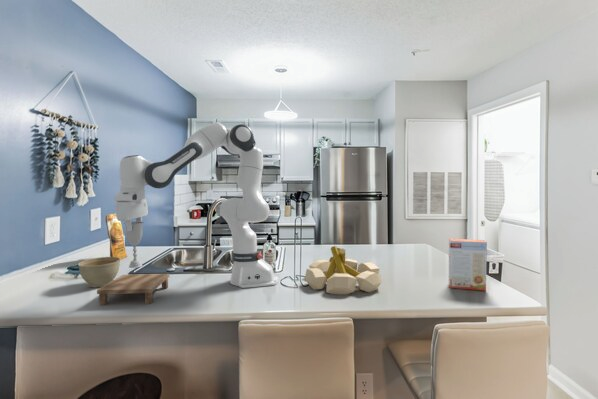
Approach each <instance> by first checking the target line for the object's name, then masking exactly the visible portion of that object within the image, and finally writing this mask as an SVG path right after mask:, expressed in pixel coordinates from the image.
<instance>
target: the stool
mask: <svg viewBox="0 0 598 399" xmlns="http://www.w3.org/2000/svg"><path fill="white" fill-rule="evenodd" d="M169 278H170V273H141V274H140V273H139V274H136V273H135V274H122V275H120V276H118V277H116V278H114V279H113V281H112V282H110V283H108V284H107V285H105V286H103V287H99V288H97V290H96V295H98V297H99V298H98V300H99V306H106V305H107V304H109V298H108V296H109V295H111V294H112V295H117V294H118V295H119V294H144V300H145V301H144V304H145V305H150V304H153V303H154V302H153V300H154V297H153V292H154V291H155V290H157V288H159V287H160V286H161V289H162V290H167V289H168V288H169Z"/></svg>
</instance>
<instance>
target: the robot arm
mask: <svg viewBox="0 0 598 399" xmlns="http://www.w3.org/2000/svg"><path fill="white" fill-rule="evenodd" d="M254 136H255V135H254V133H253V131H252V129H251V128H250V127H249V126H248V125H247V124H243V123H242V124H237V125H234V126H233V127H232V128H231V129H227V128H226V126H224V124H222V123H220V122H217V121H214V122H211V123H209V124H207V125H205V126H203V127H201V128H200V129H198V130H197V131H195V132H194V133H192V134H191V135H190V136H189V137H188V138H187V140H185V143H184V146H183V147H182V148H181V149H180V150H179V151H177V152H175V154H173V155H171V156H170V157H168V158H167V159H165V160H163V161H158V162H157V161H156V162H152V161H150V160H149V159H146V158H144V157H143V156H142V155H140V154H136V155H127V156H125V157H122V158H121V160H120V161H119V181H120V186H119V190H120V191H119V192H118V193H117V194H115V195H114V198H113V199H114V202H115V213H116V217H117V220H118V221H121V222H124V223H125V224H126V227H127V231H132V230H133V226H132V224H131V222H133V220H135V222H143V217H147V216H148V214H149V207H148V201H147V198H146V186H150V187H152V188H154V189H163V188H166V187H167V186H169V185H170V184H171V182H172V181H173V179H174V177H175V176H176V175H177V173H179V172H180V171H181V170H182V169H184V168H185V167H186V166H188V165H190V164H191V163H192V162H194V161H196V160H200V159H202V158H204V157H206V156H208V155H209V154H212V153H213V152H215V151H217V150H216V149H218V148H222V150H224V151H225V152H226V153H227V154H229V155H231V156H239V160H240V161H239V165H238V166H239V168H238V173H237V177H236V178H237V179H236V186H238V188H239V189H240V190H241V191H242V197H231V198H227V199H224V200H223V201H222V202H221V203H220V206H219V213H220V216H221V217H222V218H223V219H224V220H225V221H226V223H227V225H228V227H229V229H230V233H231V239H232V240H231V241H232V252H231V264H232V268H231V269H232V270H231V276H230V280H229V283H230V284H231V285H233V286H237V287H239V288H241V289H246V288H256V287H257V288H258V287H259V288H260V287H268V286H276V285H277V284H278V283H279V276H278V275H277V274H275V272H274V269H273V266H272V265H271V264H269V263H268V262H267V261H265V260H264V259H262V257H263V254H262V251H259V250H258V239H257V238H258V237H257V234H256V232H255V231H254V230H253V229H251V227H250V225H249V223H253V224H255V223H260V222H264V221H265V222H266V220H267V219H268V217H269V216H270V212H271V210H270V205H269V203H268V202H267V201H266V200H265V198H264V196H263V193H262V177H263V172H264V171H263V170H264V153H263V151H262V149H260V148H259V147H257V146H256V139H255V137H254ZM125 224H124V225H125ZM126 227H125V228H126Z"/></svg>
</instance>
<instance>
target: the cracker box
mask: <svg viewBox="0 0 598 399" xmlns="http://www.w3.org/2000/svg"><path fill="white" fill-rule="evenodd" d="M487 242H488V241H486V240H483V239H465V238H464V239H463V238H462V239H461V238H448V286H449V288H450V289H458V290H459V289H460V290H470V291H473V290H474V291H480V292H481V291H482V292H483V291H484V292H486V291H487V254H488V253H487V252H488V251H487V249H488V248H487V246H488V243H487Z"/></svg>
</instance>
